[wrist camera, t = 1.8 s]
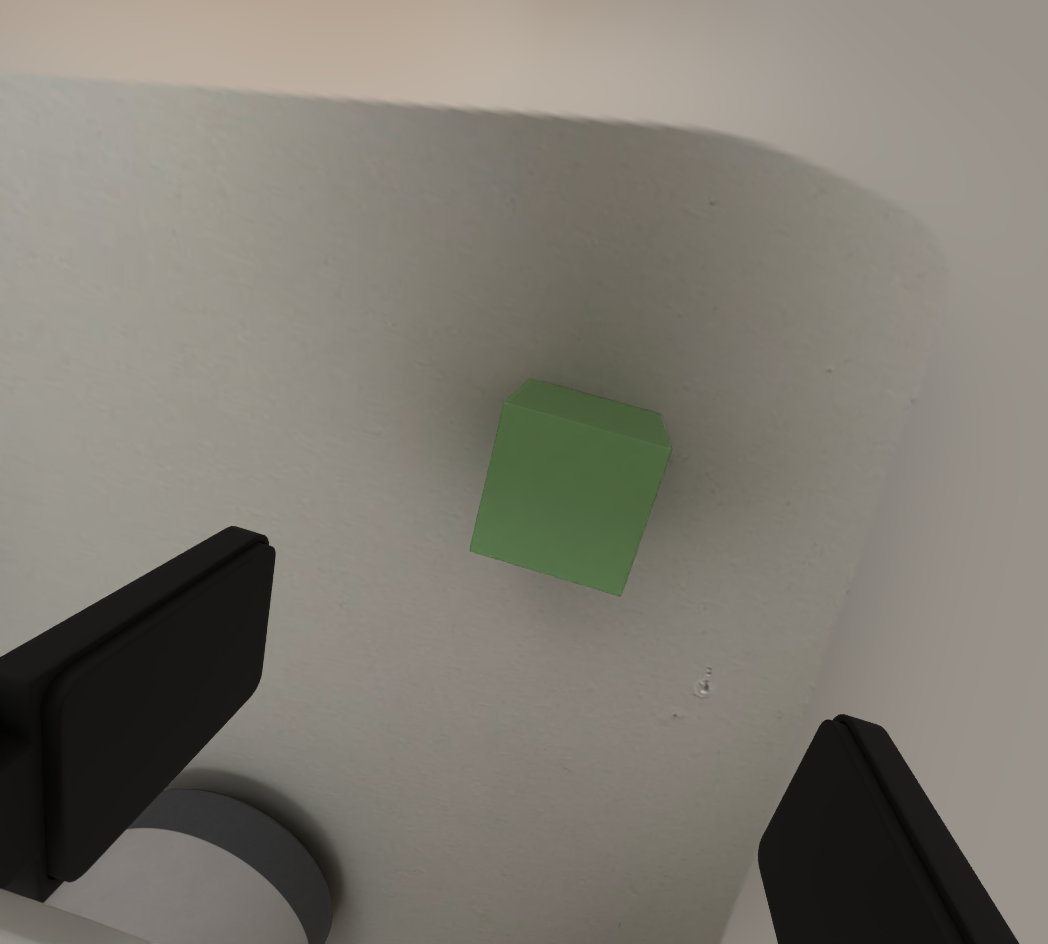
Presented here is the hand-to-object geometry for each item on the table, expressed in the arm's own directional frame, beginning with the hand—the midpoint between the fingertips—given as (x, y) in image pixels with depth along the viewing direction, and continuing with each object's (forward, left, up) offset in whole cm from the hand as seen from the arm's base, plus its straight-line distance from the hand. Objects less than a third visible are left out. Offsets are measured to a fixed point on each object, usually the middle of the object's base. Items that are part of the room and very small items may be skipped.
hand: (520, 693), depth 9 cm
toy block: (0, 0, -13) cm, 13 cm away
